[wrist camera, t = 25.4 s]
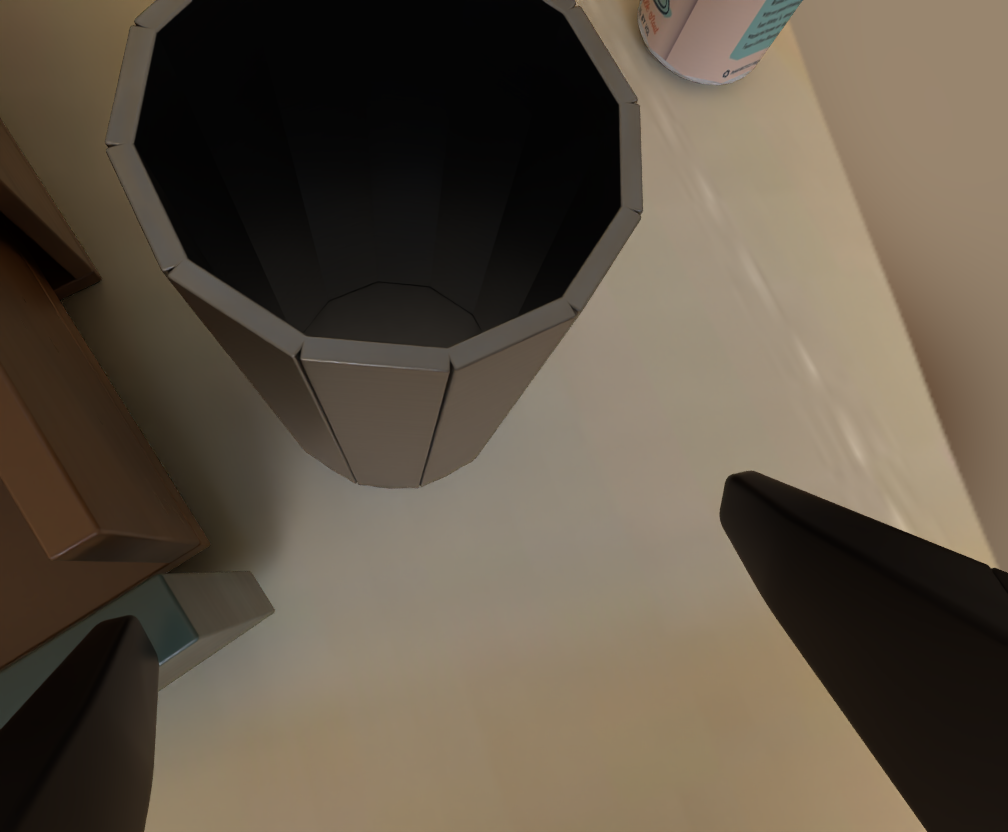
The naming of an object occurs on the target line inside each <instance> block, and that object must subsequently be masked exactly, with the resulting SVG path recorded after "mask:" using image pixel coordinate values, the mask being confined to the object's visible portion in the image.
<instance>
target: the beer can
mask: <svg viewBox="0 0 1008 832" xmlns="http://www.w3.org/2000/svg"><path fill="white" fill-rule="evenodd" d="M802 1H803V0H641V1H640V4H639V7H638V25H639V28H640V31H641V34H642V38H643V41H644V42H645V44H646V46H647V48H648V49H649V51H650V52H651V53H652V54H653V55H654V56H655V57H656V58H657V59H658V60H659V61H660V62H661V63H662V64H663V65H664V66H665V67H666V68H667V69H669V70H670V71H672V72H673V73H675V74H676V75H678V76H679V77H681V78H684V79H687V80H690V81H693V82H696V83H700V84H710V85H723V84H729V83H732V82H734V81H737V80H739V79H741V78H743V77H745V76H746V75H747V74H748V73H749V72H751V71H752V70H753V69H754V68H755V66H756V65H757V63H758V62H759V61H760V59H761V58H762V56H763V55H764V54H765V52H766V51H767V49H768V48H769V47H770V45H771V44H772V42H773V41H774V40H775V38H776V37H777V35H778V34H779V33H780V31H781V30H782V29H783V27H784V26H785V24H786V23H787V22H788V20H789V19H790V17H791V16H792V15H793V13H794V12H795V10H796V9H797V7H798V6H799V5H800V3H801V2H802Z"/></svg>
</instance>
